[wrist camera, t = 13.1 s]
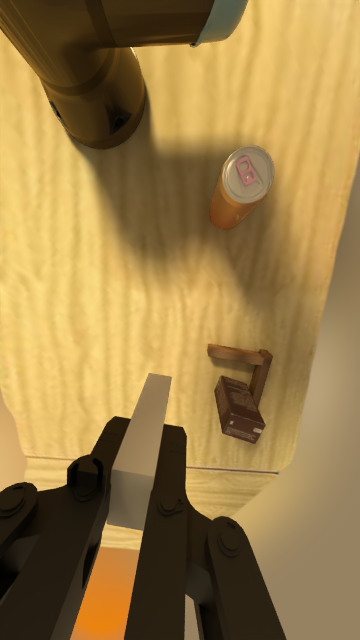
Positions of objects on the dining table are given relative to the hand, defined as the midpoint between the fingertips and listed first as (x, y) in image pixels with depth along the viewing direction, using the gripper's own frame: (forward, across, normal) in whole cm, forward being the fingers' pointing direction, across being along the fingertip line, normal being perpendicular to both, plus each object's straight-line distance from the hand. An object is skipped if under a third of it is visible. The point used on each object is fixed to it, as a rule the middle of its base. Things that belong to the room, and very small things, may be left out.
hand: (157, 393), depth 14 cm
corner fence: (+28, +13, -13) cm, 34 cm away
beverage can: (+30, +5, +18) cm, 35 cm away
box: (+29, +14, -16) cm, 35 cm away
